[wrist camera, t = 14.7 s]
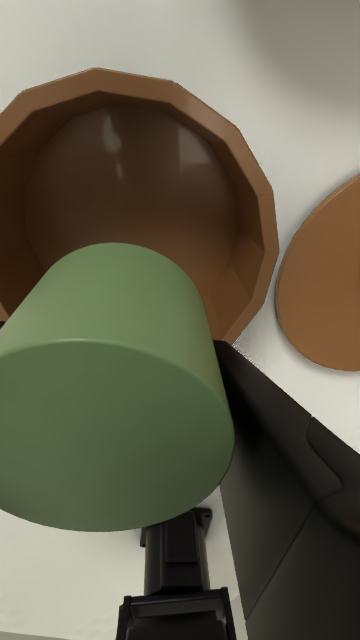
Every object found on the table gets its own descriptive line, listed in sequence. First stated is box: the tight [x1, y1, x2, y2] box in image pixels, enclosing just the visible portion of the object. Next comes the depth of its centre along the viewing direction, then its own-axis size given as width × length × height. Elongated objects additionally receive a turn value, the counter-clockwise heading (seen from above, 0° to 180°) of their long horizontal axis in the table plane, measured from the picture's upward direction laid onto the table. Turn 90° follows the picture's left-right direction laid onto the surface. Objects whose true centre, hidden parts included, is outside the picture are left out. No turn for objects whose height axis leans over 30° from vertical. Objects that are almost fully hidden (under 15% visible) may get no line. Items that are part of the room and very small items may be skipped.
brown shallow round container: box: [0, 68, 279, 345], centre depth 15 cm, size 12×12×5 cm
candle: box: [0, 243, 235, 532], centre depth 8 cm, size 5×5×4 cm
